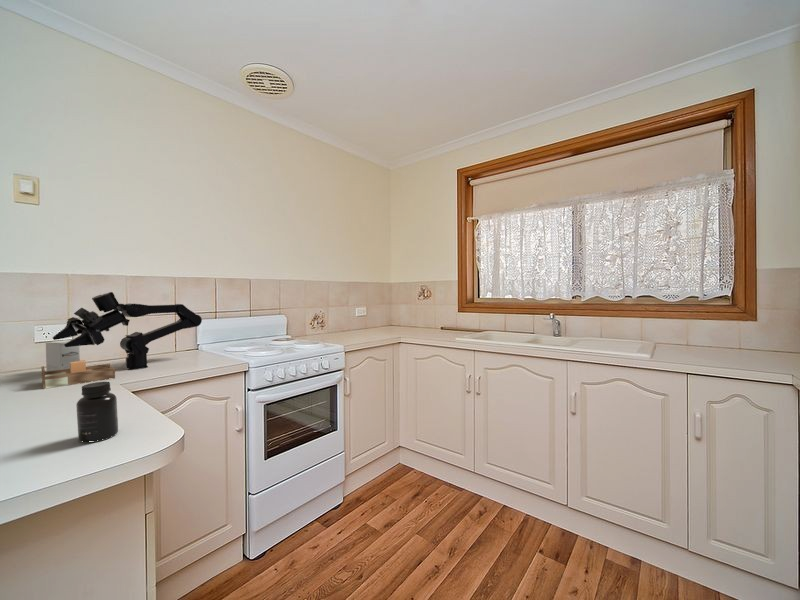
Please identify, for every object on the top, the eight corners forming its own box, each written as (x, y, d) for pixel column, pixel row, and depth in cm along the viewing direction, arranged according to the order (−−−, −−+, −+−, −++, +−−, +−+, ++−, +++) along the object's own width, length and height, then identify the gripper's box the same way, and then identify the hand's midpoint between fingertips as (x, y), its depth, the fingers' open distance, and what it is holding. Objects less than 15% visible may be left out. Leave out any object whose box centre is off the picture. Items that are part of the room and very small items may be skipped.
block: (84, 370, 131) (84, 360, 131) (86, 372, 128) (85, 361, 128) (70, 372, 128) (69, 361, 128) (71, 374, 125) (70, 363, 125)
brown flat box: (110, 373, 139) (109, 358, 139) (115, 378, 132) (114, 362, 132) (42, 383, 125) (41, 366, 125) (43, 388, 118) (42, 371, 118)
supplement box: (60, 374, 138) (59, 342, 138) (46, 373, 140) (44, 342, 140) (80, 370, 146) (79, 340, 145) (66, 369, 147) (65, 339, 147)
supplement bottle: (94, 431, 82) (92, 380, 81) (125, 430, 82) (123, 379, 82) (69, 444, 75) (66, 388, 74) (103, 443, 75) (101, 387, 75)
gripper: (85, 298, 140) (36, 317, 128) (110, 310, 132) (59, 331, 120) (97, 321, 146) (51, 341, 134) (122, 334, 138) (75, 356, 126)
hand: (58, 342), depth 128 cm, fingers open, 9 cm apart
